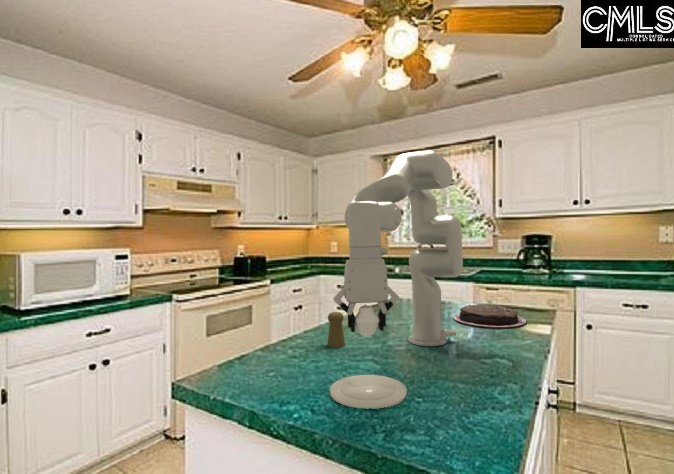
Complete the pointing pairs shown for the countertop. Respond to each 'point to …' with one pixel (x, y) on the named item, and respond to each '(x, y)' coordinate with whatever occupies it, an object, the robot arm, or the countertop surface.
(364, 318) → the muffin
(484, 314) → the chocolate cake
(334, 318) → the cork
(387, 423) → the countertop surface
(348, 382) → the plate
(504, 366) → the countertop surface
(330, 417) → the countertop surface
